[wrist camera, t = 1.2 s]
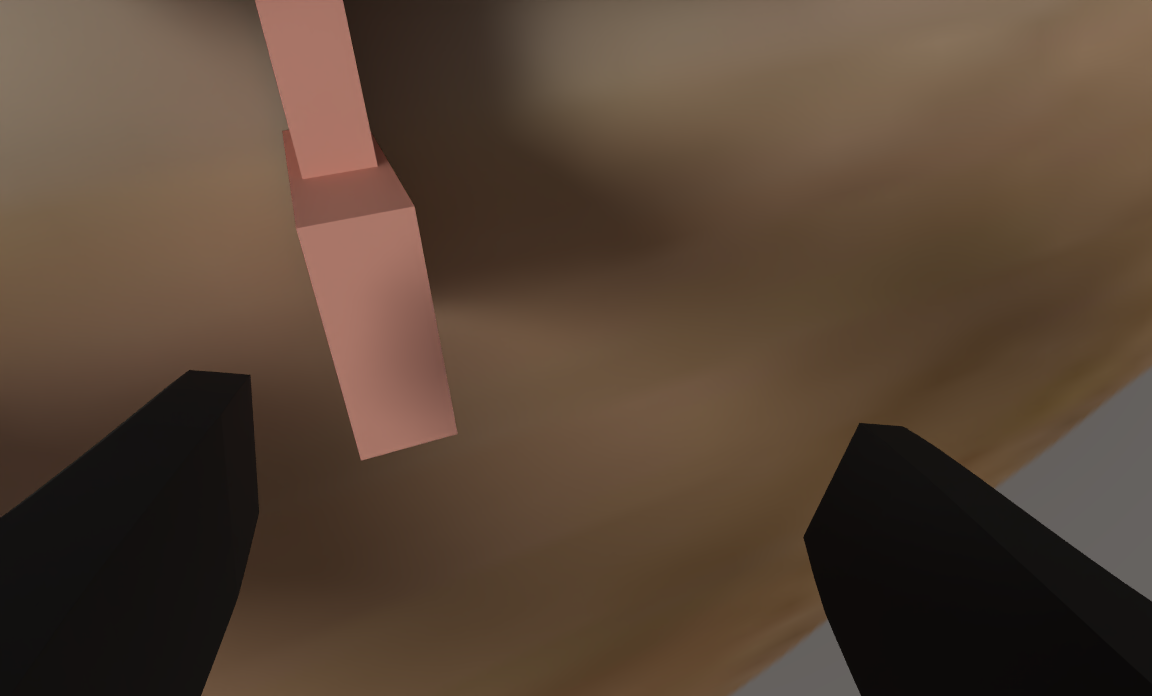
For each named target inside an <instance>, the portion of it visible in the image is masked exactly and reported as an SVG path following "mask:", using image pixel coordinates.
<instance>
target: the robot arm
mask: <svg viewBox="0 0 1152 696" xmlns="http://www.w3.org/2000/svg"><path fill="white" fill-rule="evenodd" d="M258 514H259V504H258V488H257V472H256V457H255V441H254V425H253V409H252V393H251V377H250V375H245V374H232V373H220V372H207V371H194V370H189V371H187V372H186V373H185V374H183V375H182V376H181V377H179V378H178V379H177V380H176V381H174V382H173V383H172V384H170V385H169V386H168V387H167V388H165V389H164V390H163V391H162V392H160V393H159V394H158V395H157V396H155V397H154V398H153V399H152V400H150V401H149V402H148V403H147V404H145V405H144V406H143V407H142V408H141V409H139V410H138V411H137V412H136V413H134V414H133V415H132V416H131V417H129V418H128V419H127V420H126V421H125V422H123V423H122V424H121V425H120V426H118V427H117V428H116V429H115V430H113V431H112V432H111V433H110V434H108V435H107V436H106V437H105V438H103V439H102V440H101V441H100V442H98V443H97V444H96V445H95V446H93V447H92V448H91V449H90V450H88V451H87V452H86V453H85V454H83V455H82V456H81V457H80V458H78V459H77V460H76V461H74V462H73V463H72V464H70V465H69V466H68V467H67V468H65V469H64V470H63V471H61V472H60V473H59V474H57V475H56V476H55V477H54V478H52V479H51V480H50V481H48V482H47V483H46V484H44V485H43V486H42V487H41V488H39V489H38V490H37V491H35V492H34V493H33V494H32V495H30V496H29V497H28V498H26V499H25V500H24V501H22V502H21V503H20V504H19V505H17V506H16V507H15V508H13V509H12V510H10V511H9V512H8V513H6V514H5V515H4V516H2V517H1V518H0V696H201V694H202V692H203V689H204V686H205V684H206V681H207V678H208V676H209V673H210V671H211V668H212V665H213V663H214V660H215V657H216V655H217V652H218V649H219V647H220V644H221V641H222V639H223V636H224V633H225V631H226V628H227V625H228V623H229V620H230V617H231V615H232V612H233V609H234V607H235V604H236V601H237V598H238V595H239V591H240V587H241V583H242V579H243V576H244V572H245V568H246V564H247V560H248V556H249V552H250V548H251V544H252V539H253V535H254V531H255V527H256V523H257V519H258ZM803 538H804V541H805V545H806V549H807V553H808V556H809V560H810V564H811V567H812V571H813V575H814V579H815V582H816V585H817V588H818V591H819V595H820V598H821V601H822V604H823V608H824V611H825V613H826V616H827V618H828V621H829V623H830V625H831V628H832V630H833V633H834V635H835V637H836V640H837V642H838V644H839V646H840V648H841V651H842V653H843V656H844V658H845V660H846V663H847V665H848V667H849V669H850V672H851V674H852V676H853V679H854V681H855V683H856V685H857V688H858V690H859V692H860V694H861V696H1152V601H1150V600H1149V599H1147V598H1146V597H1144V596H1143V595H1141V594H1140V593H1138V592H1137V591H1136V590H1134V589H1132V588H1131V587H1129V586H1128V585H1127V584H1125V583H1124V582H1122V581H1121V580H1120V579H1118V578H1117V577H1115V576H1114V575H1112V574H1111V573H1110V572H1108V571H1107V570H1105V569H1104V568H1103V567H1101V566H1100V565H1098V564H1097V563H1095V562H1094V561H1093V560H1091V559H1090V558H1088V557H1087V556H1086V555H1084V554H1083V553H1081V552H1080V551H1079V550H1077V549H1076V548H1074V547H1073V546H1072V545H1070V544H1069V543H1068V542H1066V541H1065V540H1063V539H1062V538H1061V537H1059V536H1058V535H1057V534H1055V533H1054V532H1052V531H1051V530H1050V529H1048V528H1047V527H1045V526H1044V525H1043V524H1041V523H1040V522H1039V521H1037V520H1036V519H1035V518H1033V517H1032V516H1030V515H1029V514H1028V513H1026V512H1025V511H1024V510H1022V509H1021V508H1020V507H1018V506H1017V505H1015V504H1014V503H1012V502H1011V501H1010V500H1009V499H1007V498H1006V497H1005V496H1003V495H1002V494H1001V493H999V492H998V491H996V490H995V489H994V488H992V487H991V486H990V485H988V484H987V483H986V482H984V481H983V480H982V479H980V478H979V477H977V476H976V475H975V474H973V473H972V472H970V471H969V470H968V469H966V468H965V467H964V466H962V465H961V464H959V463H958V462H956V461H955V460H954V459H952V458H951V457H949V456H948V455H947V454H945V453H944V452H942V451H941V450H939V449H938V448H936V447H935V446H933V445H932V444H930V443H929V442H927V441H926V440H924V439H923V438H921V437H920V436H918V435H916V434H915V433H913V432H911V431H910V430H908V429H907V428H905V427H903V426H891V425H878V424H866V423H859V425H858V427H857V429H856V431H855V433H854V435H853V437H852V439H851V441H850V443H849V445H848V447H847V449H846V452H845V454H844V456H843V458H842V460H841V462H840V464H839V466H838V468H837V470H836V472H835V474H834V476H833V478H832V480H831V482H830V484H829V486H828V488H827V490H826V492H825V494H824V496H823V498H822V500H821V502H820V504H819V506H818V508H817V510H816V512H815V514H814V516H813V519H812V521H811V523H810V525H809V527H808V529H807V531H806V533H805V535H804V537H803Z"/></svg>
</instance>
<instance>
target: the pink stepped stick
mask: <svg viewBox="0 0 1152 696" xmlns="http://www.w3.org/2000/svg"><path fill="white" fill-rule="evenodd" d="M255 2H256V6H257V10H258V14H259V17H260V21H261V25H262V29H263V32H264V36H265V40H266V44H267V47H268V51H269V55H270V59H271V62H272V66H273V70H274V74H275V78H276V81H277V85H278V89H279V93H280V96H281V100H282V104H283V108H284V111H285V115H286V119H287V123H288V126H289V130H284V131H282V132H283V139H284V146H285V153H286V160H287V167H288V174H289V181H290V188H291V195H292V202H293V209H294V216H295V223H296V229H297V233H298V236H299V240H300V243H301V247H302V251H303V254H304V258H305V261H306V265H307V269H308V272H309V276H310V279H311V283H312V286H313V290H314V294H315V297H316V301H317V304H318V308H319V311H320V315H321V319H322V322H323V326H324V329H325V333H326V336H327V340H328V344H329V347H330V351H331V354H332V358H333V361H334V365H335V369H336V372H337V376H338V379H339V383H340V386H341V390H342V394H343V397H344V401H345V404H346V408H347V411H348V415H349V419H350V422H351V426H352V429H353V433H354V436H355V440H356V444H357V447H358V451H359V454H360V458H361V460H365V459H369V458H372V457H376V456H380V455H383V454H387V453H390V452H394V451H398V450H401V449H405V448H408V447H412V446H416V445H419V444H423V443H427V442H430V441H434V440H437V439H441V438H445V437H448V436H452V435H456V434H458V433H457V428H456V422H455V417H454V412H453V406H452V401H451V396H450V391H449V385H448V380H447V375H446V370H445V364H444V359H443V354H442V349H441V343H440V338H439V333H438V328H437V322H436V317H435V312H434V306H433V301H432V296H431V291H430V285H429V280H428V275H427V270H426V264H425V259H424V254H423V249H422V243H421V238H420V233H419V227H418V222H417V217H416V212H415V206H414V205H413V203H412V201H411V199H410V198H409V196H408V194H407V193H406V191H405V189H404V188H403V186H402V184H401V182H400V181H399V179H398V177H397V176H396V174H395V172H394V170H393V169H392V167H391V165H390V164H389V162H388V160H387V159H386V157H385V155H384V153H383V152H382V150H381V148H380V147H379V145H378V143H377V141H376V140H375V138H374V136H373V135H372V133H371V131H370V127H369V122H368V118H367V113H366V108H365V103H364V99H363V94H362V89H361V84H360V80H359V75H358V70H357V65H356V61H355V56H354V51H353V46H352V42H351V37H350V32H349V27H348V23H347V18H346V13H345V8H344V4H343V0H255Z"/></svg>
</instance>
